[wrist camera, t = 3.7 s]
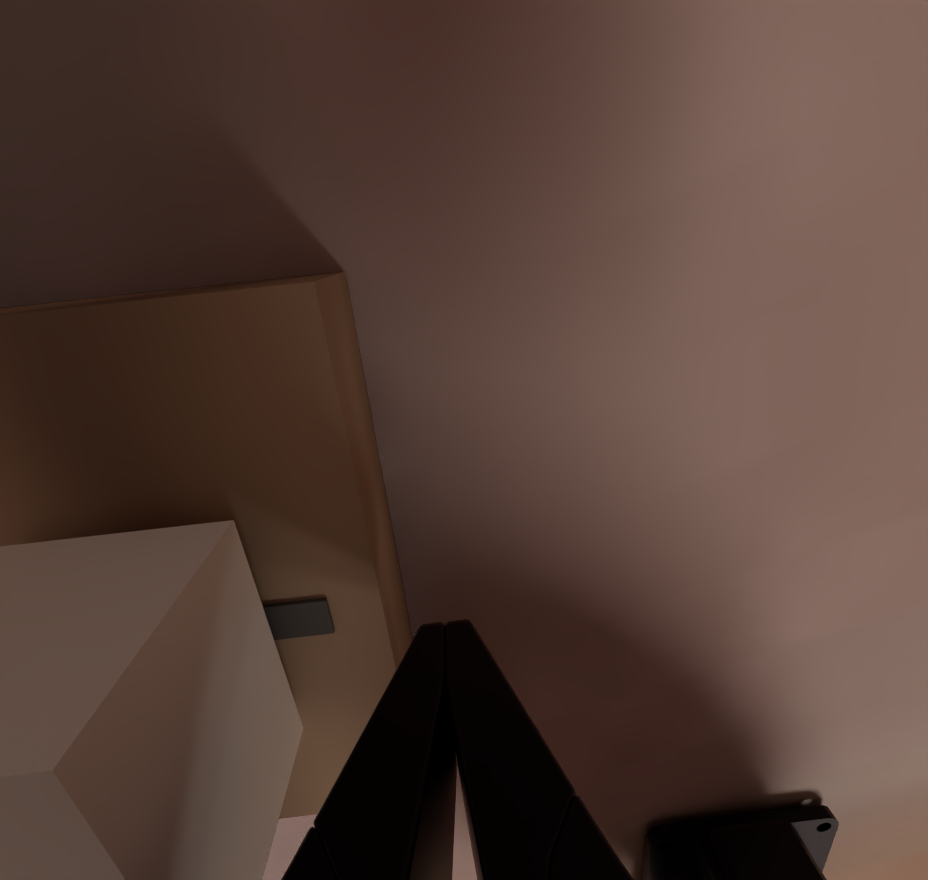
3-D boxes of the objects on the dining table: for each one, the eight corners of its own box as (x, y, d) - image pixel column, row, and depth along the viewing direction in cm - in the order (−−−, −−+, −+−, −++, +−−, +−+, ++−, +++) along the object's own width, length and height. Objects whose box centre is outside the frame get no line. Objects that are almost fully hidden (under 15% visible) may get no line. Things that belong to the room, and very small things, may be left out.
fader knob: (233, 520, 8) (52, 770, 4) (303, 727, 10) (223, 1025, 6) (-13, 548, 8) (-422, 826, 4) (107, 751, 10) (-95, 1065, 6)
